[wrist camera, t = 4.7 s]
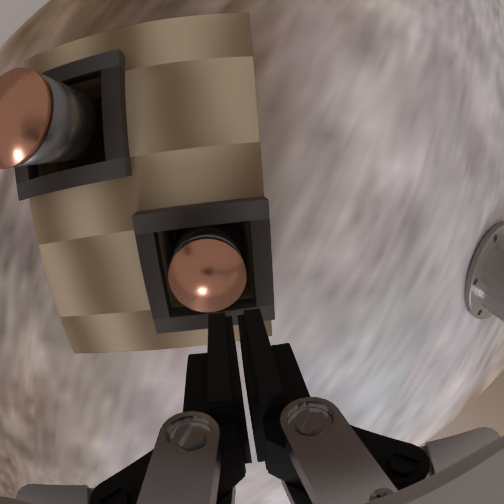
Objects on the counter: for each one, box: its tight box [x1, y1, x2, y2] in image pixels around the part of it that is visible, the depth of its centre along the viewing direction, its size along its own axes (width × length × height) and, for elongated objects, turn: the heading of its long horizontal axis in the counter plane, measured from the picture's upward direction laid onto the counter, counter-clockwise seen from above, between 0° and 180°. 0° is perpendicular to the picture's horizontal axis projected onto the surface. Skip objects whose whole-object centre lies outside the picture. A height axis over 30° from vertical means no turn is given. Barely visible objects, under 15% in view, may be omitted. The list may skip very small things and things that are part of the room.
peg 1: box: [0, 68, 103, 169], centre depth 10 cm, size 4×4×7 cm
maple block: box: [15, 13, 275, 353], centre depth 17 cm, size 14×20×6 cm
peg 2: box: [168, 223, 247, 312], centre depth 18 cm, size 4×4×7 cm
